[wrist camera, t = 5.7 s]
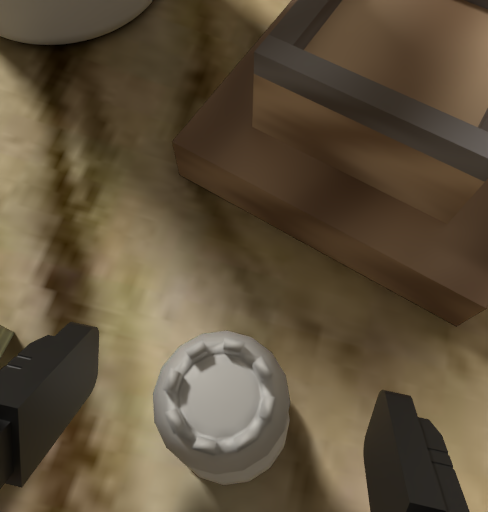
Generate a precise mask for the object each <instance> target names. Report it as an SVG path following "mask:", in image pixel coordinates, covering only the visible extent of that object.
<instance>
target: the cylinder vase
mask: <svg viewBox="0 0 488 512" xmlns="http://www.w3.org/2000/svg"><path fill="white" fill-rule="evenodd" d="M152 1H153V0H0V36H1V37H4V38H7V39H10V40H14V41H17V42H22V43H28V44H37V45H60V44H70V43H76V42H81V41H86V40H90V39H93V38H96V37H99V36H102V35H105V34H107V33H110V32H112V31H114V30H116V29H118V28H120V27H122V26H123V25H125V24H127V23H128V22H130V21H131V20H133V19H134V18H136V17H137V16H138V15H139V14H141V13H142V12H143V11H144V10H145V9H146V8H147V7H148V6H149V5H150V4H151V2H152Z"/></svg>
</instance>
